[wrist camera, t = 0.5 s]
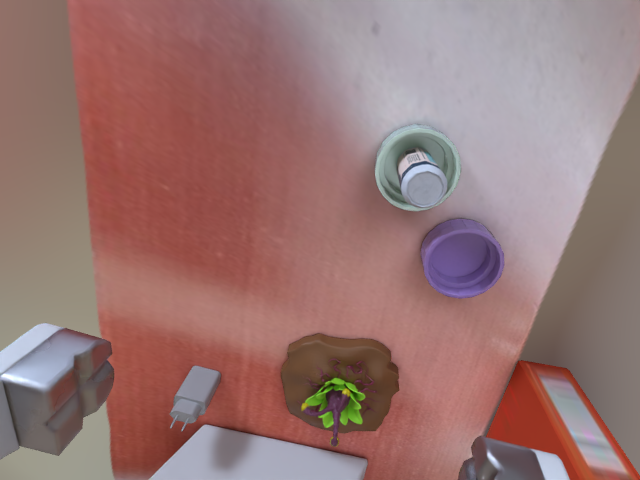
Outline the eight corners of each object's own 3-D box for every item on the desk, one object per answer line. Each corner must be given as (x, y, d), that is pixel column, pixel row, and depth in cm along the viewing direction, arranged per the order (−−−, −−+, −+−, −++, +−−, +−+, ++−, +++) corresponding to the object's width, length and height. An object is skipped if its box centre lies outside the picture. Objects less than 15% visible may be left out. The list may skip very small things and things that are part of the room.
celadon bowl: (382, 119, 51) (383, 123, 46) (462, 129, 50) (470, 134, 46) (369, 195, 55) (369, 205, 51) (443, 205, 54) (449, 216, 50)
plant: (282, 414, 73) (267, 470, 63) (283, 328, 65) (266, 375, 55) (390, 429, 71) (393, 489, 61) (405, 342, 64) (411, 394, 53)
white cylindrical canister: (389, 174, 53) (393, 200, 42) (405, 140, 51) (414, 159, 40) (422, 187, 53) (435, 218, 42) (439, 154, 51) (457, 177, 40)
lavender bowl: (429, 212, 55) (433, 223, 51) (503, 223, 54) (514, 235, 50) (414, 276, 59) (417, 291, 55) (483, 287, 58) (491, 303, 54)
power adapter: (192, 364, 71) (159, 418, 60) (221, 372, 71) (193, 427, 60) (191, 377, 72) (158, 432, 61) (219, 384, 72) (192, 440, 61)
